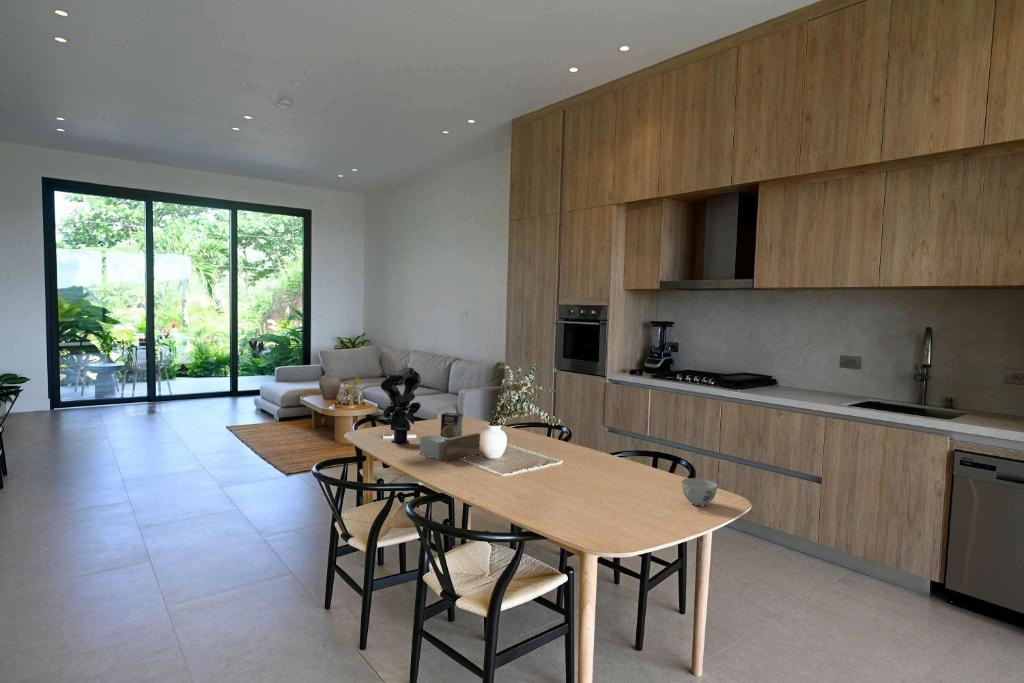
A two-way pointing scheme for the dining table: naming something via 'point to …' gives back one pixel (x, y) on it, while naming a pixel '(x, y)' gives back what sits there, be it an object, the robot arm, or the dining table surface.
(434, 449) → the grey block
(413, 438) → the dining table surface
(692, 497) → the teacup
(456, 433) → the coffee box
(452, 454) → the walnut board
